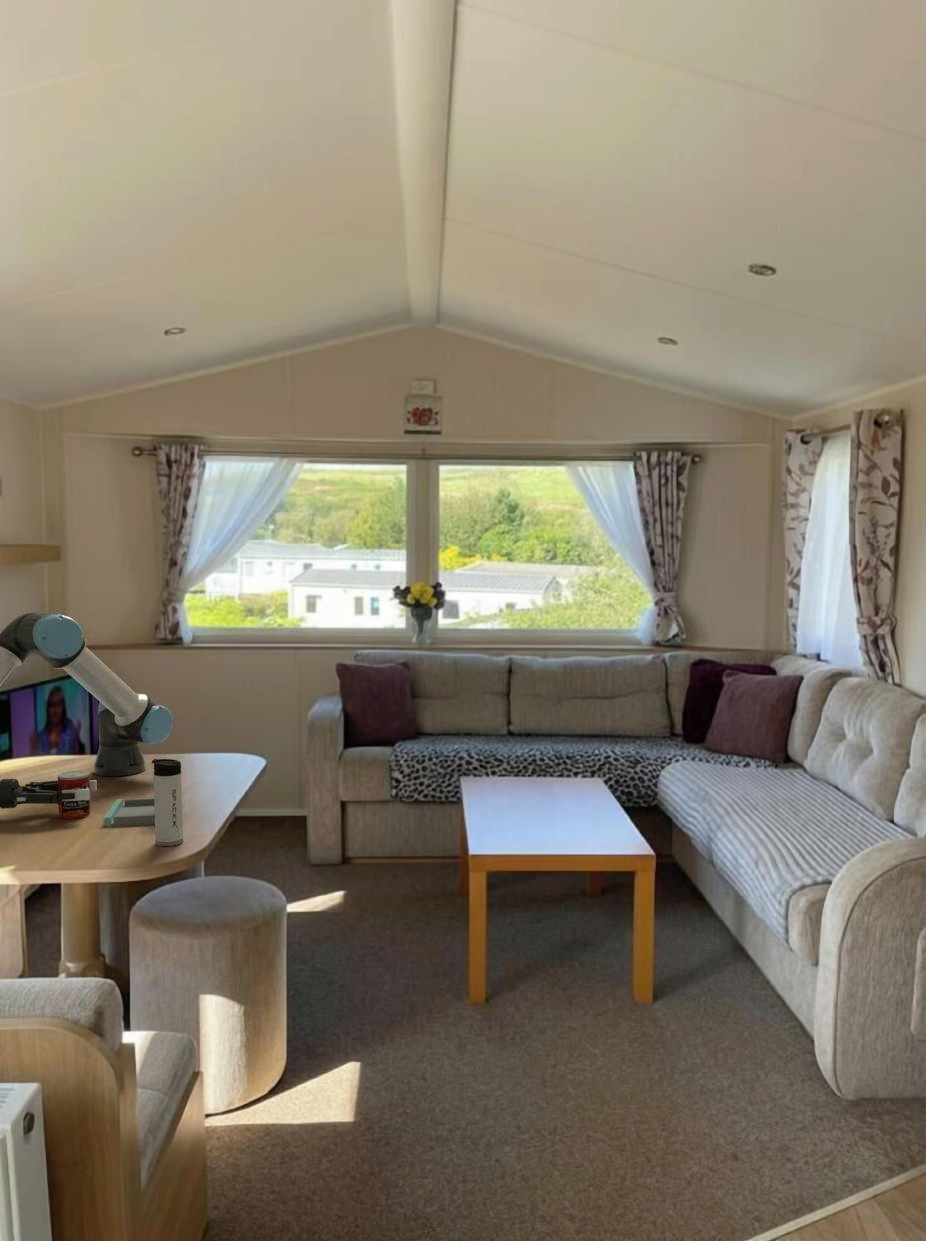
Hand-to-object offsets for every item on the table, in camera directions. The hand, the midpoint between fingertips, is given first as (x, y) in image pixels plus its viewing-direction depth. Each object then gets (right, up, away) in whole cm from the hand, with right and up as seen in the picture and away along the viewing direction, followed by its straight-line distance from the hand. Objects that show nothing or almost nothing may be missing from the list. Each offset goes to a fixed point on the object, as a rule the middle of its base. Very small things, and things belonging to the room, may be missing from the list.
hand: (92, 790), depth 251 cm
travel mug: (+27, -8, -24) cm, 37 cm away
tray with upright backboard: (+13, -7, 0) cm, 14 cm away
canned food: (-5, -7, 0) cm, 8 cm away
